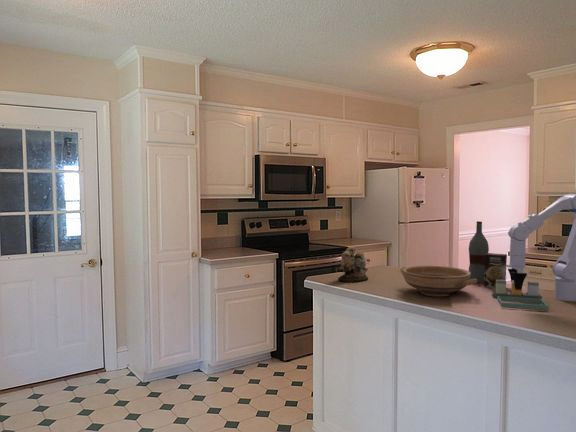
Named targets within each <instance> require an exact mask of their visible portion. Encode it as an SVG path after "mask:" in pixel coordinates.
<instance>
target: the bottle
mask: <svg viewBox="0 0 576 432" xmlns="http://www.w3.org/2000/svg"><path fill="white" fill-rule="evenodd" d="M475 229H476V230H475V234H474V235H473V236H472V238H471V239H470V241H469V245H468V254H469V255H468V257H469V266H468V271H469V272H470V273H471V275H470V280H471V279H477V283H475V284H480V285H484V271H485V254H486V253H490V252H489V251H490V247H489V246H490V245H489V242H488V240H487V239H486V237H485V235H484V234H483V221H479V220H478V221H476V228H475Z"/></svg>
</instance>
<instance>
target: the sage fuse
mask: <svg viewBox="0 0 576 432" xmlns="http://www.w3.org/2000/svg"><path fill="white" fill-rule="evenodd" d="M495 291H496V293H499V294H506V292H507V279H506V280H496V288H495Z"/></svg>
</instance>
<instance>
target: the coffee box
mask: <svg viewBox="0 0 576 432" xmlns="http://www.w3.org/2000/svg"><path fill="white" fill-rule="evenodd" d="M507 262H508V254H506V253H505V254H504V253H493V252H492V253H491V252H488V253H486V254H485V271H484V284H483V287H484V288H493V289H496V280H506V281H507V266H506V265H507Z"/></svg>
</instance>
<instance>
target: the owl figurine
mask: <svg viewBox="0 0 576 432" xmlns="http://www.w3.org/2000/svg"><path fill="white" fill-rule="evenodd" d="M355 252H356V248H355V247H354V246H348V247H347V248H346V249H345V251H343V252H342V254H341V255H340V256H341V259H340V266H339V267H338V268H337V269H338V270H339V272H340V273H344V274H343V275H340V276H339V277H337V278H338V279H337V280H338V281H340V282H343V283H349V284H350V283H362V282H363V283H364V282H366V281H368V280H369V277H368V276H367V274H366V273H367V271H368V270H369V269H368V268H367V267H366V266H367V263H366V257H365V254H364V253H363V252H361V251H359V252H356V253H355Z"/></svg>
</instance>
